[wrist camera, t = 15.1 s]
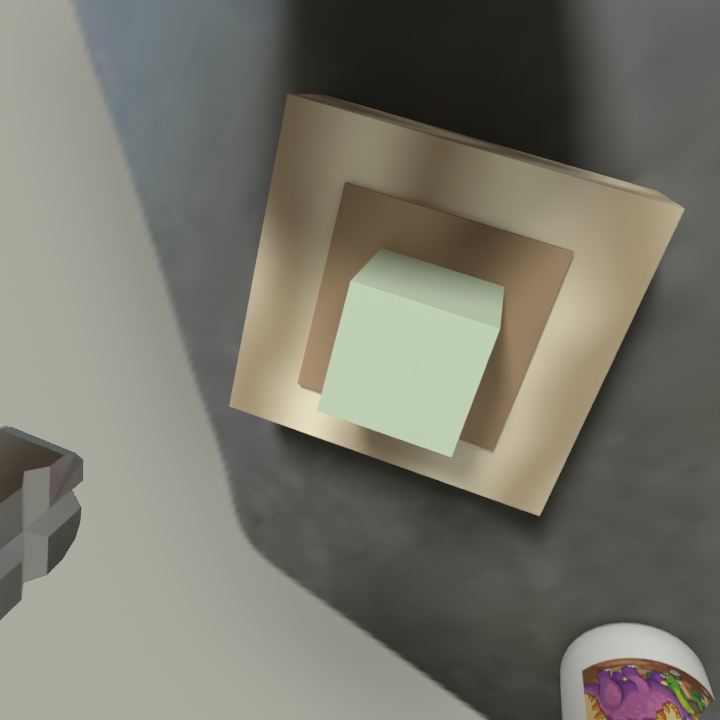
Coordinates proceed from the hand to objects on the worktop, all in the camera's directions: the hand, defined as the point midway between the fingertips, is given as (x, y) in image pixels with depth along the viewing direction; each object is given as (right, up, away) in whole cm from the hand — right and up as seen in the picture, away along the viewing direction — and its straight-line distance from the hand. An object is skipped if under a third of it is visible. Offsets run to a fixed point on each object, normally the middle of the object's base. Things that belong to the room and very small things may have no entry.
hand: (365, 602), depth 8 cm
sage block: (+3, +4, +18) cm, 19 cm away
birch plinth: (+4, +6, +23) cm, 24 cm away
